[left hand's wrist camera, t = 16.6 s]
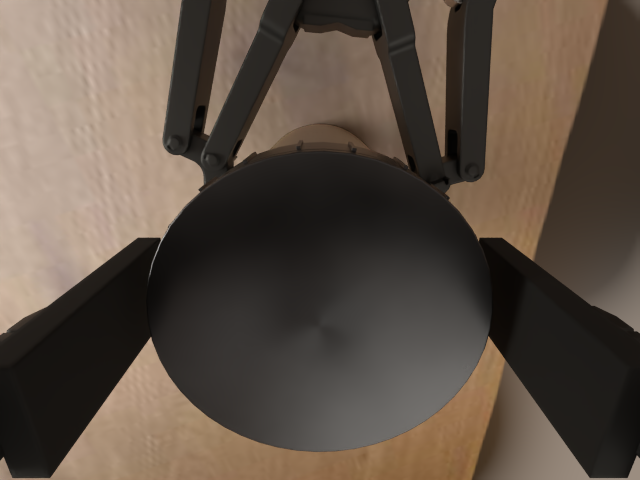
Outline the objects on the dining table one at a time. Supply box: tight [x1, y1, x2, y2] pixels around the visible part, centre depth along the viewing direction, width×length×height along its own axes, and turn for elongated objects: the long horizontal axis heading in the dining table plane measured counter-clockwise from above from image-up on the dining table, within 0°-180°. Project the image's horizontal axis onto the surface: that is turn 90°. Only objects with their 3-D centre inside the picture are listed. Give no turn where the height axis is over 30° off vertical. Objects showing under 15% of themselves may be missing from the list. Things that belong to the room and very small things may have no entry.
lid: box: [146, 140, 493, 452], centre depth 11 cm, size 9×9×2 cm
